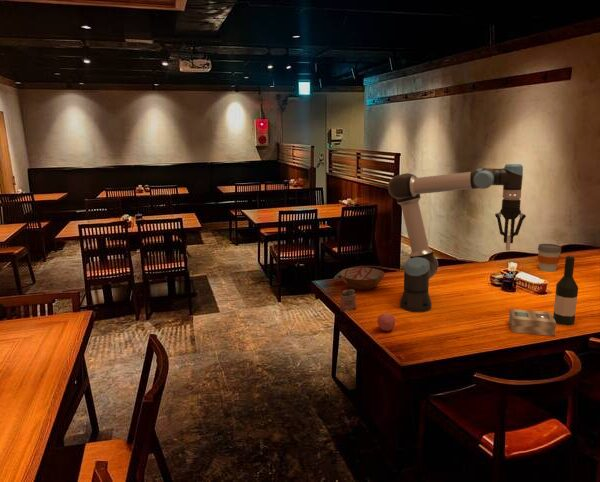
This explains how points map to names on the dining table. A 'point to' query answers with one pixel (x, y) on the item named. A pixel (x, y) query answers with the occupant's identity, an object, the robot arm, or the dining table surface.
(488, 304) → the dining table surface
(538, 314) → the steel peg
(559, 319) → the wine bottle
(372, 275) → the bowl
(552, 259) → the reusable coffee cup
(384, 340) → the dining table surface
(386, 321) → the apple
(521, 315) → the teal peg
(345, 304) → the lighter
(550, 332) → the socket block
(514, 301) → the dining table surface
